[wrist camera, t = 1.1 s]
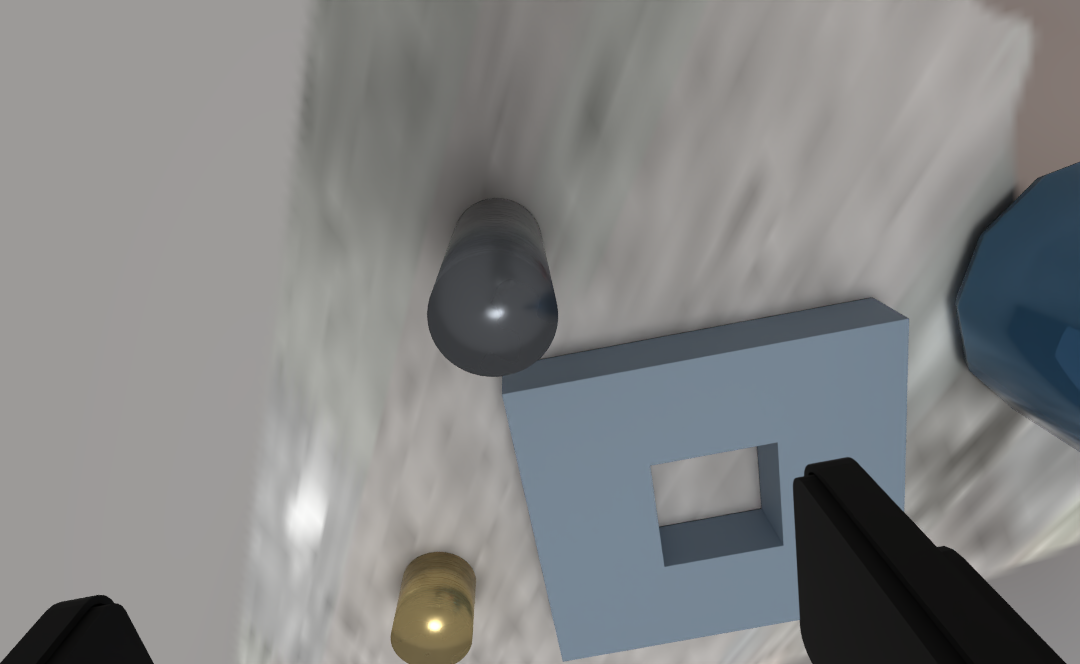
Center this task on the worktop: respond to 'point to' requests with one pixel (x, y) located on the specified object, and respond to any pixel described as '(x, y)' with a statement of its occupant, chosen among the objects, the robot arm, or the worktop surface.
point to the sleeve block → (692, 431)
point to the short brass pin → (435, 610)
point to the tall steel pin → (494, 292)
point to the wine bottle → (1029, 305)
